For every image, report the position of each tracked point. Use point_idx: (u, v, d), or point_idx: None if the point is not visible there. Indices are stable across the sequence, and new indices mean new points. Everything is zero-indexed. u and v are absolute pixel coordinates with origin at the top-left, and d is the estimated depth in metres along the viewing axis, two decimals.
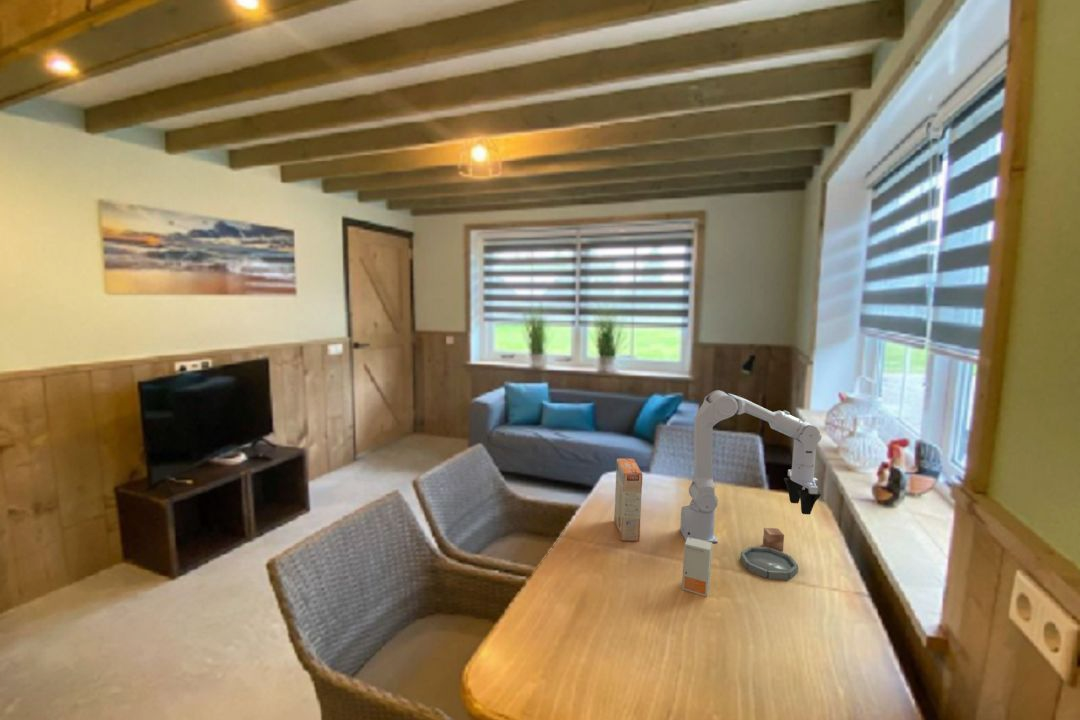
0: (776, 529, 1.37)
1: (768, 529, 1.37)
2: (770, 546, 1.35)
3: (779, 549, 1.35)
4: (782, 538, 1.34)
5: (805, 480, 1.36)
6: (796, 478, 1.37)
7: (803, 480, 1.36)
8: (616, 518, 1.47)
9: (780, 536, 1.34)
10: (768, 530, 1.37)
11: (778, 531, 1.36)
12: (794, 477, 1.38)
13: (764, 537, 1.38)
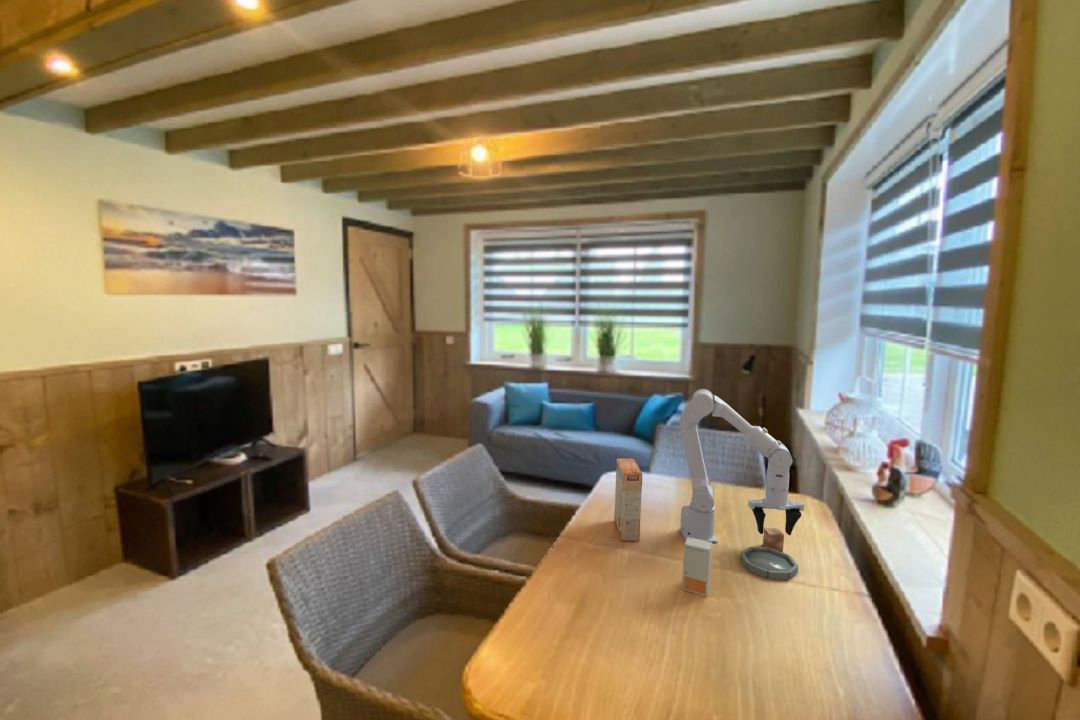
0: (776, 529, 1.37)
1: (768, 529, 1.37)
2: (770, 546, 1.35)
3: (779, 549, 1.35)
4: (782, 538, 1.34)
5: (765, 500, 1.36)
6: None
7: (765, 499, 1.36)
8: (616, 518, 1.47)
9: (780, 536, 1.34)
10: (768, 530, 1.37)
11: (778, 531, 1.36)
12: None
13: (764, 537, 1.38)
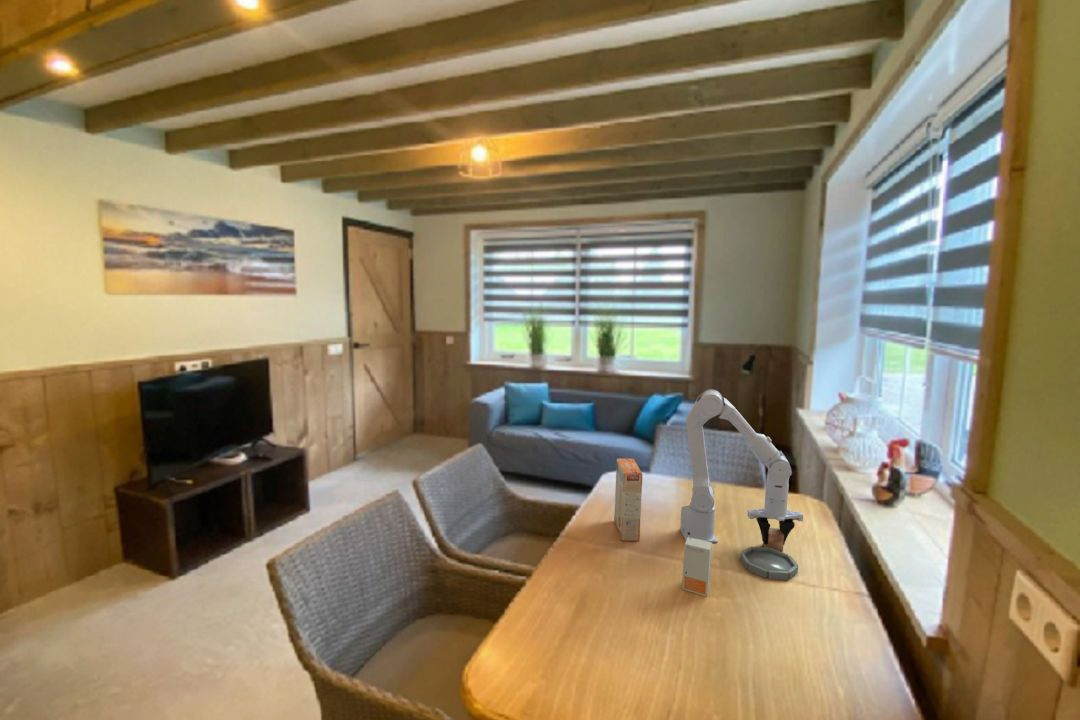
0: (776, 529, 1.37)
1: None
2: (770, 546, 1.35)
3: (779, 549, 1.35)
4: (782, 538, 1.34)
5: (764, 510, 1.36)
6: None
7: (764, 509, 1.36)
8: (616, 518, 1.47)
9: (780, 536, 1.34)
10: None
11: (778, 531, 1.36)
12: None
13: None
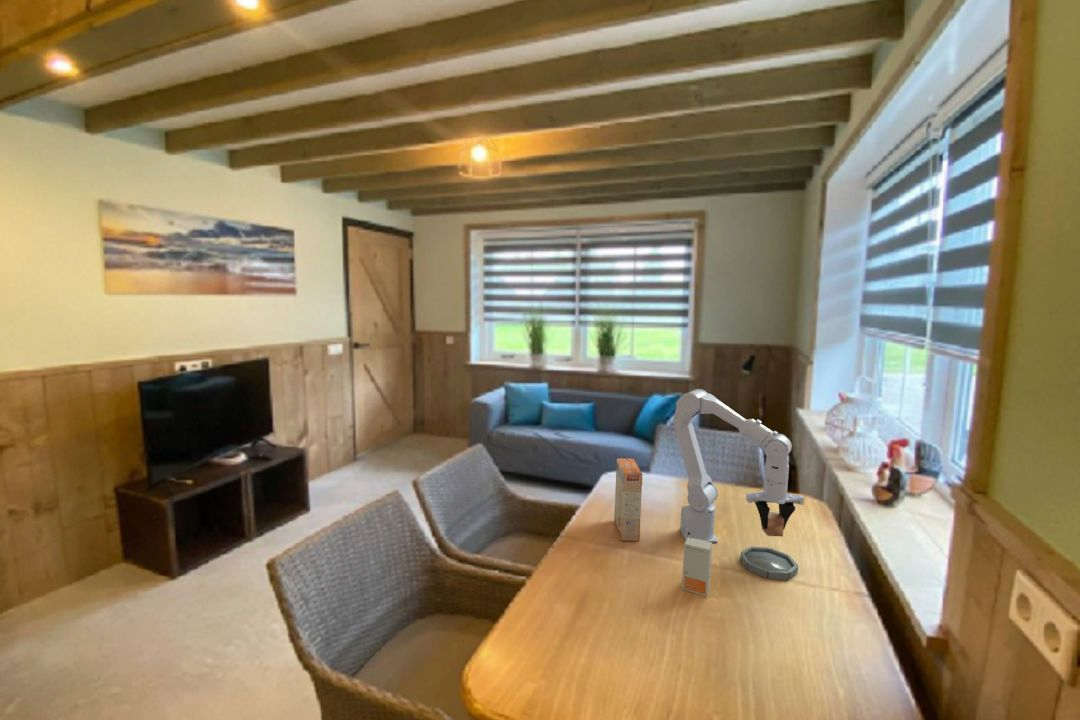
0: (776, 513, 1.32)
1: None
2: (769, 531, 1.29)
3: (779, 534, 1.29)
4: (782, 522, 1.29)
5: (763, 493, 1.30)
6: None
7: (763, 493, 1.31)
8: (616, 518, 1.47)
9: (779, 520, 1.28)
10: None
11: (778, 515, 1.30)
12: None
13: None
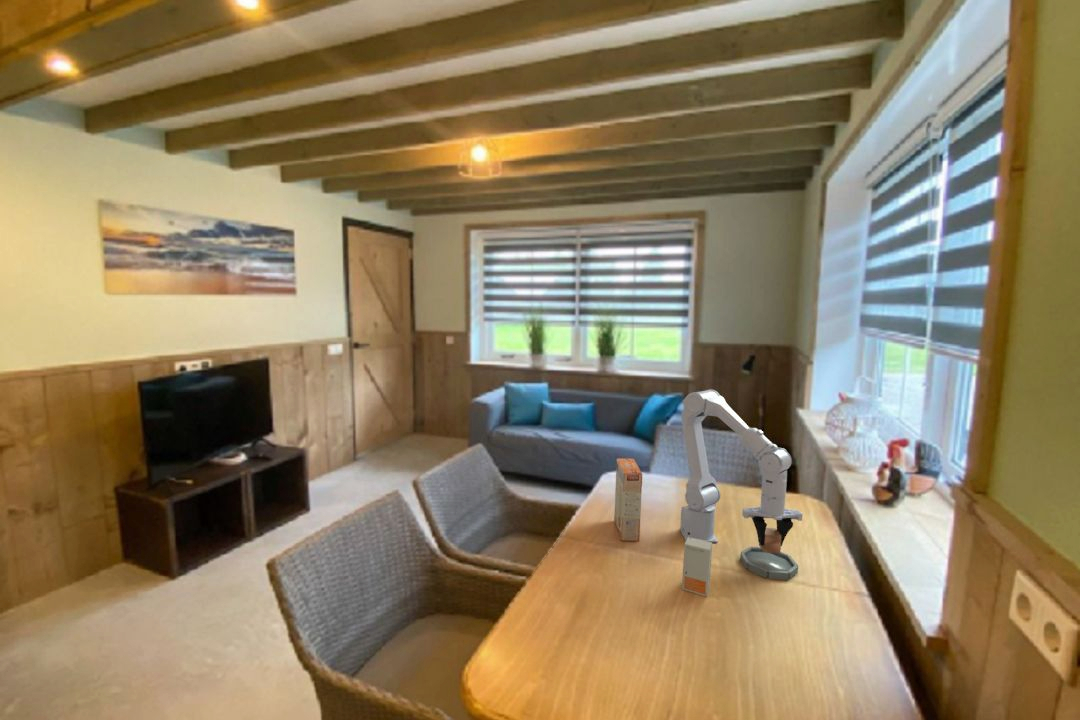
0: (773, 529, 1.27)
1: None
2: (766, 547, 1.25)
3: (776, 550, 1.25)
4: (779, 539, 1.24)
5: (760, 508, 1.26)
6: None
7: (760, 508, 1.26)
8: (616, 518, 1.47)
9: (777, 536, 1.24)
10: None
11: (775, 531, 1.26)
12: None
13: None
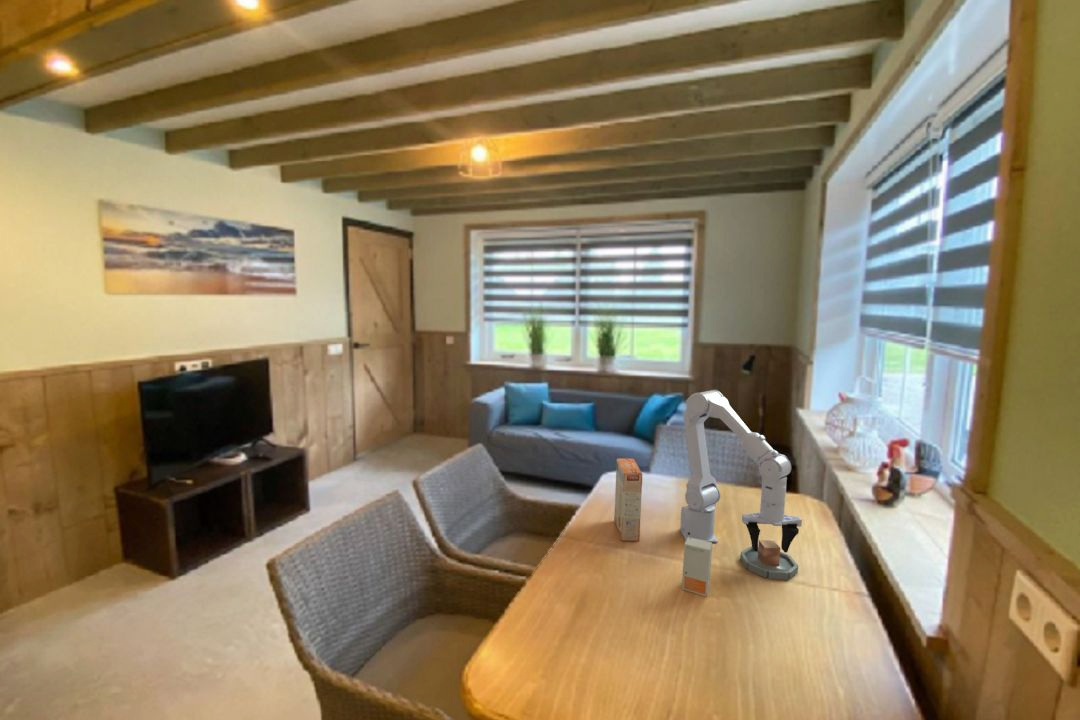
0: (772, 541, 1.28)
1: (763, 541, 1.28)
2: (765, 560, 1.25)
3: (775, 563, 1.25)
4: (778, 551, 1.25)
5: (760, 514, 1.26)
6: None
7: (759, 514, 1.27)
8: (616, 518, 1.47)
9: (776, 549, 1.25)
10: (763, 543, 1.27)
11: (774, 544, 1.27)
12: None
13: (759, 550, 1.28)
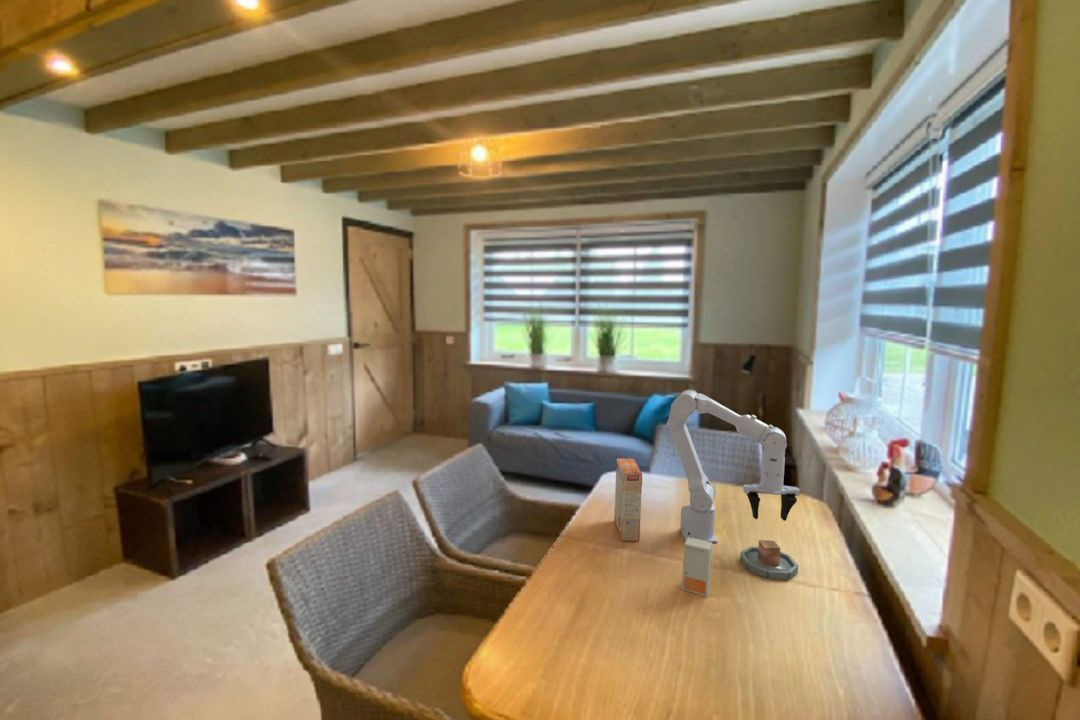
0: (772, 541, 1.28)
1: (763, 541, 1.28)
2: (765, 560, 1.25)
3: (775, 563, 1.25)
4: (778, 551, 1.25)
5: (760, 485, 1.34)
6: None
7: (760, 484, 1.34)
8: (616, 518, 1.47)
9: (776, 549, 1.25)
10: (763, 543, 1.27)
11: (774, 544, 1.27)
12: None
13: (759, 550, 1.28)
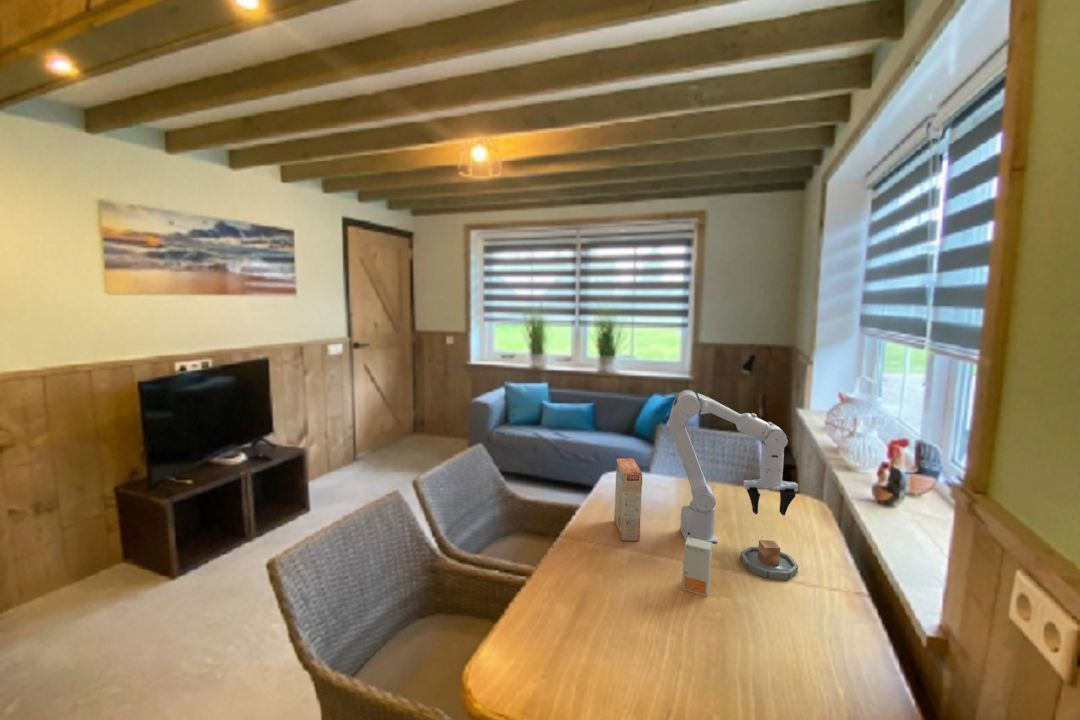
0: (772, 541, 1.28)
1: (763, 541, 1.28)
2: (765, 560, 1.25)
3: (775, 563, 1.25)
4: (778, 551, 1.25)
5: (760, 480, 1.37)
6: None
7: (759, 480, 1.38)
8: (616, 518, 1.47)
9: (776, 549, 1.25)
10: (763, 543, 1.27)
11: (774, 544, 1.27)
12: None
13: (759, 550, 1.28)
